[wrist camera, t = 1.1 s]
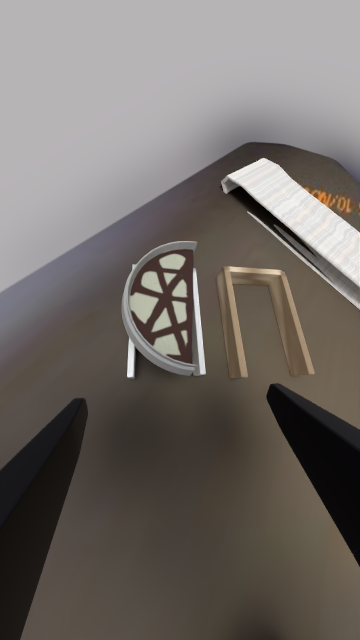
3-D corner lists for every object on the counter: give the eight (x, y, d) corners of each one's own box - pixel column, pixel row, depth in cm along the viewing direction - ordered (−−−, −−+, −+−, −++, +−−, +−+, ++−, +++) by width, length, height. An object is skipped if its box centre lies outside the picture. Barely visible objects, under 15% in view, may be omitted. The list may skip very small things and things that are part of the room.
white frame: (190, 280, 27) (195, 268, 24) (198, 375, 23) (205, 373, 20) (134, 277, 26) (132, 264, 23) (129, 378, 21) (127, 377, 18)
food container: (135, 285, 25) (130, 226, 16) (179, 290, 26) (197, 237, 17) (122, 378, 21) (104, 368, 12) (175, 380, 22) (196, 373, 13)
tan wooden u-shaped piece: (271, 281, 30) (284, 270, 27) (295, 375, 25) (314, 373, 22) (216, 278, 28) (223, 266, 25) (229, 378, 23) (241, 377, 20)
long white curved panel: (415, 329, 27) (224, 169, 33) (384, 336, 30) (217, 190, 37) (434, 285, 31) (262, 151, 38) (405, 295, 35) (252, 171, 41)
